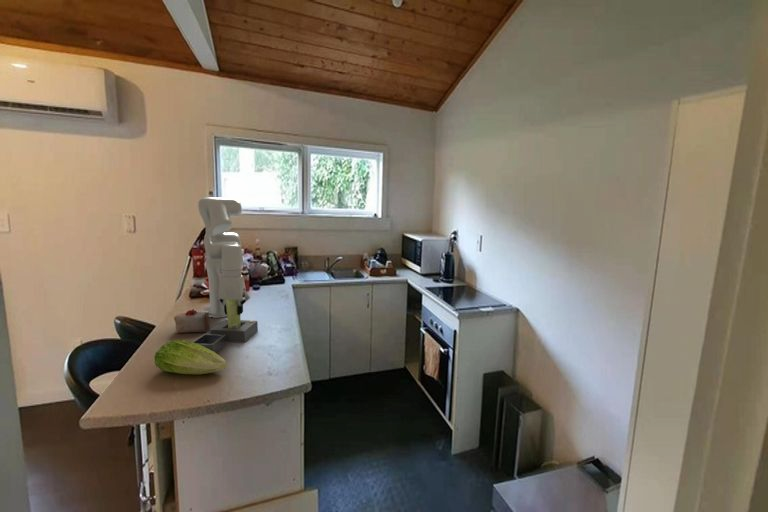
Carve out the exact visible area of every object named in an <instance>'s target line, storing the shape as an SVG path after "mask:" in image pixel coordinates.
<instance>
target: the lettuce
mask: <svg viewBox="0 0 768 512" xmlns="http://www.w3.org/2000/svg"><path fill="white" fill-rule="evenodd" d="M154 364H155V366H156V367H157V368H158V369H160V370H162V371H164V372H165V373H166V372H167V373H174V374H181V375H205V374H211V373H216V372H218V371H222V370H223V369H225V368H226V367H227V361H226V360H225V359H224V358H223V357H222V356H220V355H219V354H218V353H217V352H216V353H215V352H213V351H211V350H209V349H208V348H206V347H204V346H202V345H200V344H196V343H193V342H192V341H188V340H183V339H174V340H171V341H167V342H165V343H164V344H163V345H162V346H161V347H160V348H158V350H157V351H156V352H155V354H154Z"/></svg>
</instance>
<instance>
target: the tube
mask: <svg viewBox="0 0 768 512" xmlns="http://www.w3.org/2000/svg"><path fill="white" fill-rule="evenodd" d="M224 294H225V292H224ZM225 296H226V295H225ZM237 306H238V302H237V300H228V299H226V308H227V319H226V320H228V328H232V329H238V328H240V320H241V314H240V315H238V312H237Z"/></svg>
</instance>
